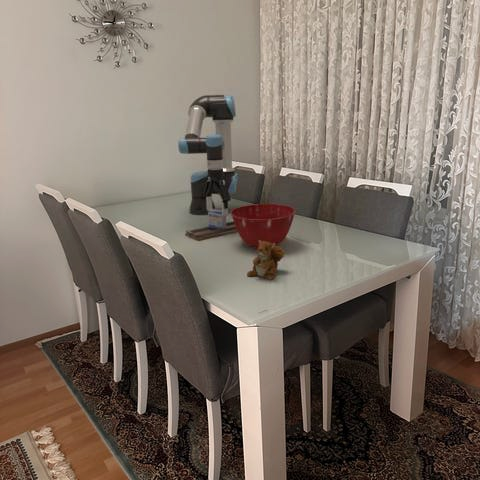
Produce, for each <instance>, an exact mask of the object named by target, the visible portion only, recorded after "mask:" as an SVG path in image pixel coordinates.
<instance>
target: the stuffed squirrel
mask: <svg viewBox="0 0 480 480" xmlns="http://www.w3.org/2000/svg"><path fill="white" fill-rule="evenodd" d="M254 253H255V254H258V255H257V256H256V257H254V258H253V260H252V265H253V267H252V270H249V271H247V273H246V276H247V277H255V276H258V277H262V278H265V279H267V280H269V281H271V280H273V279H275V278H276V276H277V269H278V267H279V266H278V265H279V263H278V262H281V260H282V259H283V258H284V257H285V249H282V247H281V246H278V245H277V246H275V243H273V244H271V243H269V242H266V241H262V242H261V240H259V246H258V248H257V249H256V250H255V251H254Z"/></svg>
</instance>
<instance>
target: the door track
mask: <svg viewBox="0 0 480 480" xmlns="http://www.w3.org/2000/svg"><path fill="white" fill-rule="evenodd" d="M226 225H227V227H226V228H224V229H217V228H209V225H208V226H204V227H200V228H199V227H198V228H194V229H191V230H186V231H185V234H184V236H186V237H188V238H191V239H192V240H195V241H197V242H201V241H204V240H209V239H212V238H214V239H215V238H217V237H222V236H226V235H231V234H235V233H238V231H237V229H236V227H235V224H234V221H233V220H232V221H228V222H227V221H226Z"/></svg>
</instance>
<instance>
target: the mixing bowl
mask: <svg viewBox="0 0 480 480" xmlns="http://www.w3.org/2000/svg"><path fill="white" fill-rule="evenodd" d="M295 214H296V209H295V208H294V207H292V206H289V205H285V204H279V203H254V204H247V205H243V206H242V205H241V206H238V207H235V208H233V209H231V210H230V215H231V217H232V221H234V224H235V227H236V229H237V231H238V232H237V233H238V235H239V237H240V239H241V241H242V242H244V244H246V245H247V246H250V247H251V248H254V249H258V246H259V240H261V242H262V241H266V242H269V243H271V244H273V243H275V246H278V245H280V244H282V243H283V242H284V241H285V239H286V237H287V236H288V234H289V231H290V230H291V229H290V228H291V226H292V224H293V221H294V216H295Z"/></svg>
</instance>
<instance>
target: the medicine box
mask: <svg viewBox="0 0 480 480" xmlns="http://www.w3.org/2000/svg"><path fill="white" fill-rule="evenodd" d="M207 217H208V218H207V219H208V226H209V228H217V229H224V228H226V227H227V225H226V223H227V215H224V216H223V215H222V209H216V208H215V209H211V210H208V214H207Z"/></svg>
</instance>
